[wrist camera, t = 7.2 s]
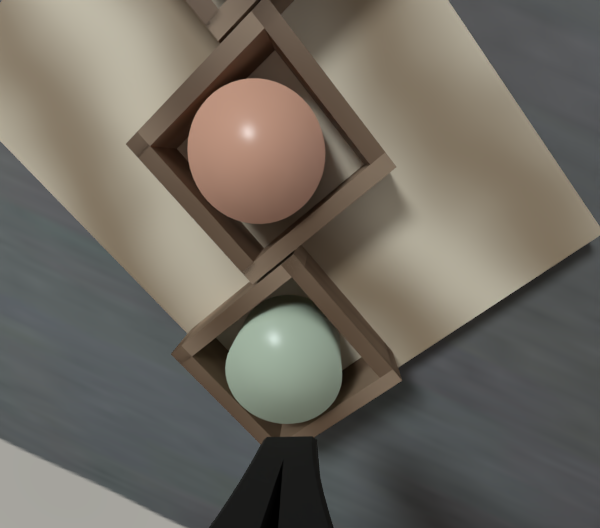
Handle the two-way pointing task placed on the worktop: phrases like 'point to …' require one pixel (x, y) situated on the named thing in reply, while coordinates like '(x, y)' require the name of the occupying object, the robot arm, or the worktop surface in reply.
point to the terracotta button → (256, 151)
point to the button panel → (331, 189)
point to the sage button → (285, 361)
